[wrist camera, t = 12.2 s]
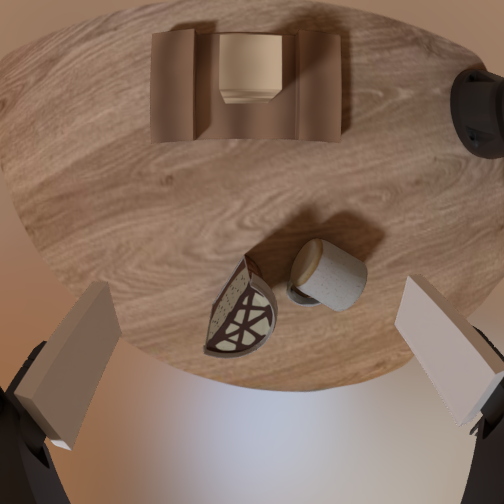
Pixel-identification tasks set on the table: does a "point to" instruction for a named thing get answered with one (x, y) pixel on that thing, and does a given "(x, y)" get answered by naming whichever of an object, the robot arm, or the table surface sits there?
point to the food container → (241, 314)
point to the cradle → (244, 114)
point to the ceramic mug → (326, 276)
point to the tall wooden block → (250, 68)
